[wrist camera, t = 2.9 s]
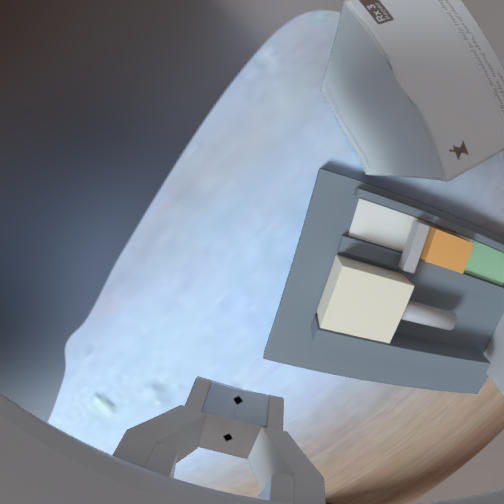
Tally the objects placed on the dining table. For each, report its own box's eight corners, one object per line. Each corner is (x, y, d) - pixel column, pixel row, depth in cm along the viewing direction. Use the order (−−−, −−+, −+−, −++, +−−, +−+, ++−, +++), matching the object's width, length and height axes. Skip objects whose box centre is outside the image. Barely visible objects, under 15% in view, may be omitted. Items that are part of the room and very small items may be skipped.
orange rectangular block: (450, 265, 24) (463, 273, 21) (414, 253, 24) (425, 261, 21) (459, 237, 23) (473, 243, 21) (423, 223, 23) (436, 229, 21)
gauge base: (473, 388, 28) (498, 425, 21) (264, 351, 29) (257, 401, 22) (535, 254, 23) (577, 275, 16) (318, 168, 24) (331, 168, 17)
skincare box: (420, 149, 23) (541, 142, 9) (361, 178, 24) (451, 193, 10) (374, 60, 21) (451, -28, 7) (312, 86, 23) (342, -6, 8)
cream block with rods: (433, 337, 25) (445, 354, 23) (316, 310, 26) (319, 327, 23) (472, 242, 23) (490, 250, 20) (353, 199, 23) (362, 203, 20)
